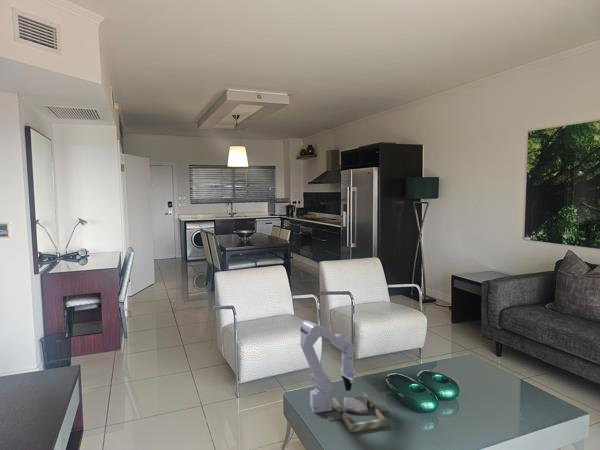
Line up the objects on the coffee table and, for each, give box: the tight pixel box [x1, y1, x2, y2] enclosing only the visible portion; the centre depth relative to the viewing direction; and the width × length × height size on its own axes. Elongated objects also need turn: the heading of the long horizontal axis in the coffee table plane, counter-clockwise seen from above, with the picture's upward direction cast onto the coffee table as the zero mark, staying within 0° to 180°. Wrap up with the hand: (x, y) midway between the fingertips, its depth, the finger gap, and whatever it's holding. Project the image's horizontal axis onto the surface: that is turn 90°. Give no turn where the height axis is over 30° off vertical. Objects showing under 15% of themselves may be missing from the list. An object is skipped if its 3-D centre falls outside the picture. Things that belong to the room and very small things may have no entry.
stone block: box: [342, 396, 369, 415], centre depth 191 cm, size 12×5×10 cm
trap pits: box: [325, 404, 391, 422], centre depth 187 cm, size 30×6×1 cm, turn 103°
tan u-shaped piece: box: [332, 392, 388, 433], centre depth 186 cm, size 17×25×3 cm
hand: (348, 390), depth 200 cm, fingers closed
